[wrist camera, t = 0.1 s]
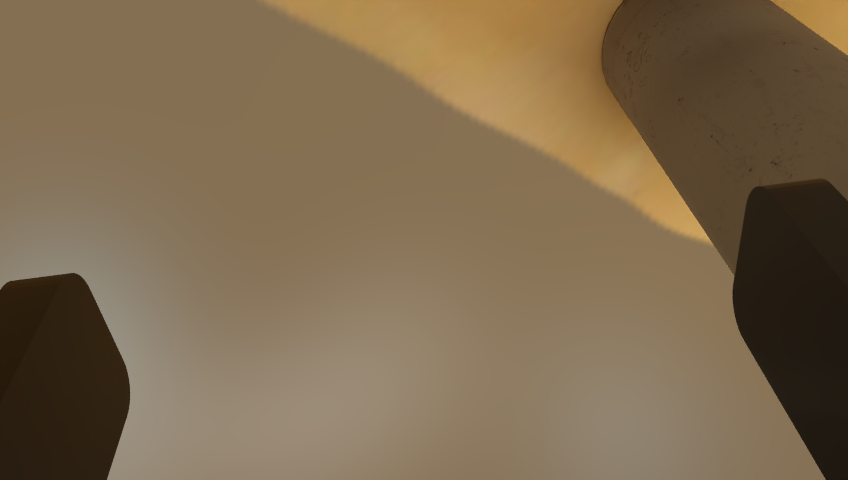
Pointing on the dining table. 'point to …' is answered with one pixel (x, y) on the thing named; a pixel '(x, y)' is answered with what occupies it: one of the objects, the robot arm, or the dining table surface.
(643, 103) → the thermos bottle
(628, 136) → the dining table surface
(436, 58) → the dining table surface
